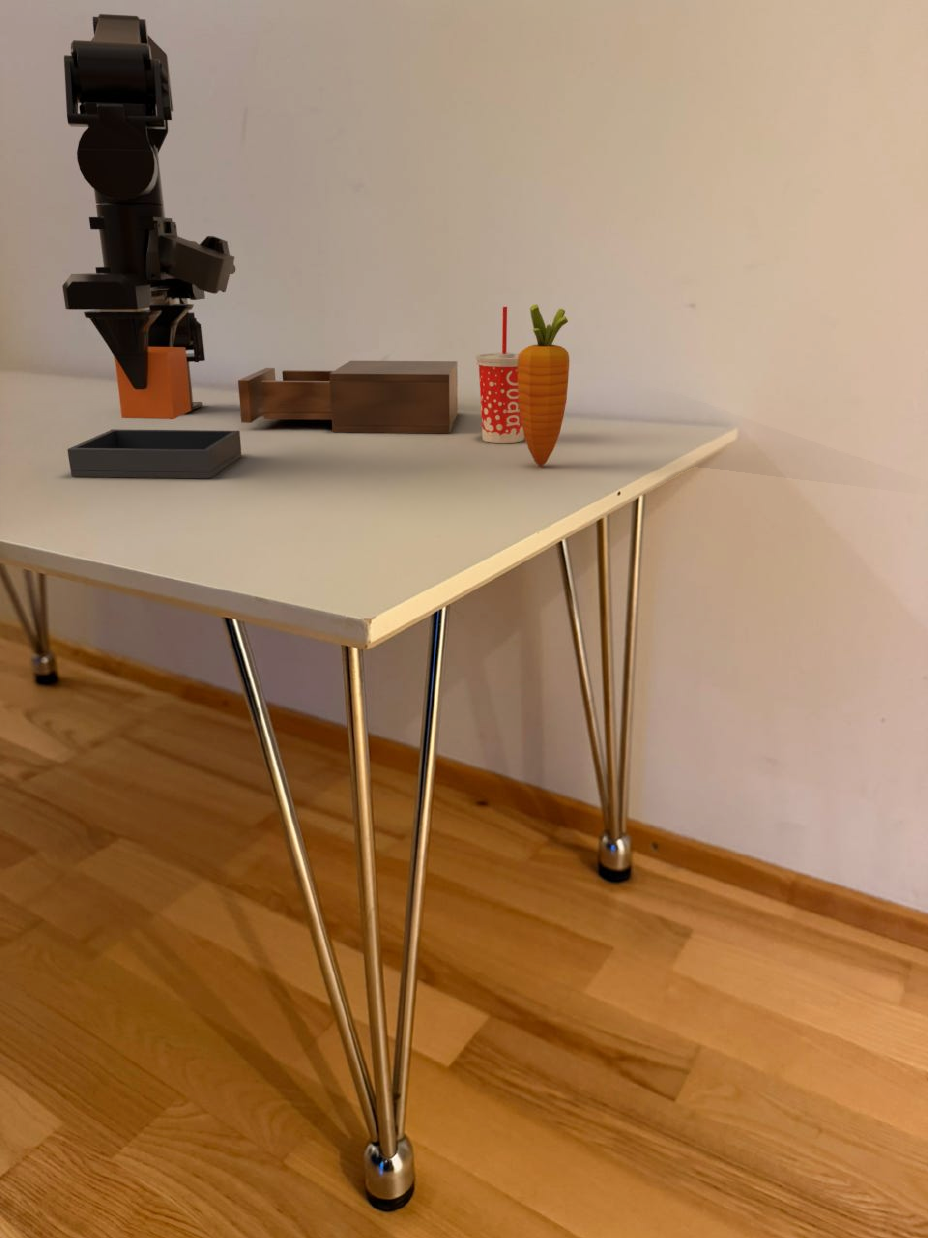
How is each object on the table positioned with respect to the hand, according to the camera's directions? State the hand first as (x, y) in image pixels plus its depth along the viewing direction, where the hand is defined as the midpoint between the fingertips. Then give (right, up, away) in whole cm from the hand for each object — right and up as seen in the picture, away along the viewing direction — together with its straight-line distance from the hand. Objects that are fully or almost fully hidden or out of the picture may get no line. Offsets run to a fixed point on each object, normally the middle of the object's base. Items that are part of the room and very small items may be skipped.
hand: (151, 384), depth 90 cm
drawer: (+10, +3, +26) cm, 28 cm away
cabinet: (+22, +2, +26) cm, 34 cm away
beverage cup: (+34, -2, +16) cm, 37 cm away
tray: (0, -7, +3) cm, 8 cm away
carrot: (+37, -8, +3) cm, 38 cm away
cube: (0, -3, +1) cm, 3 cm away
